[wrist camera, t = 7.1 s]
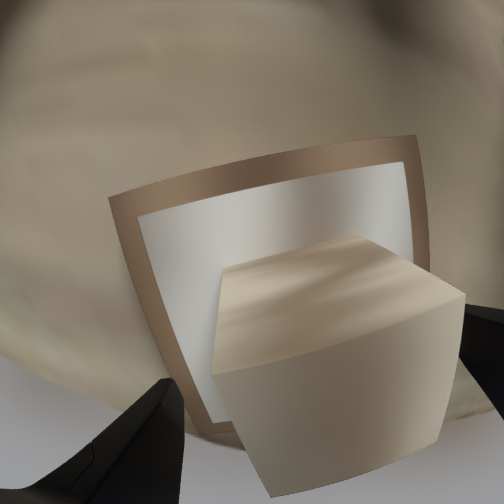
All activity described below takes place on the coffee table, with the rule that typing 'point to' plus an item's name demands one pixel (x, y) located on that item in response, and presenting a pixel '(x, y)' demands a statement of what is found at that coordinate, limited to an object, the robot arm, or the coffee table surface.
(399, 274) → the oak block
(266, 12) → the coffee table surface
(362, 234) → the base slab
